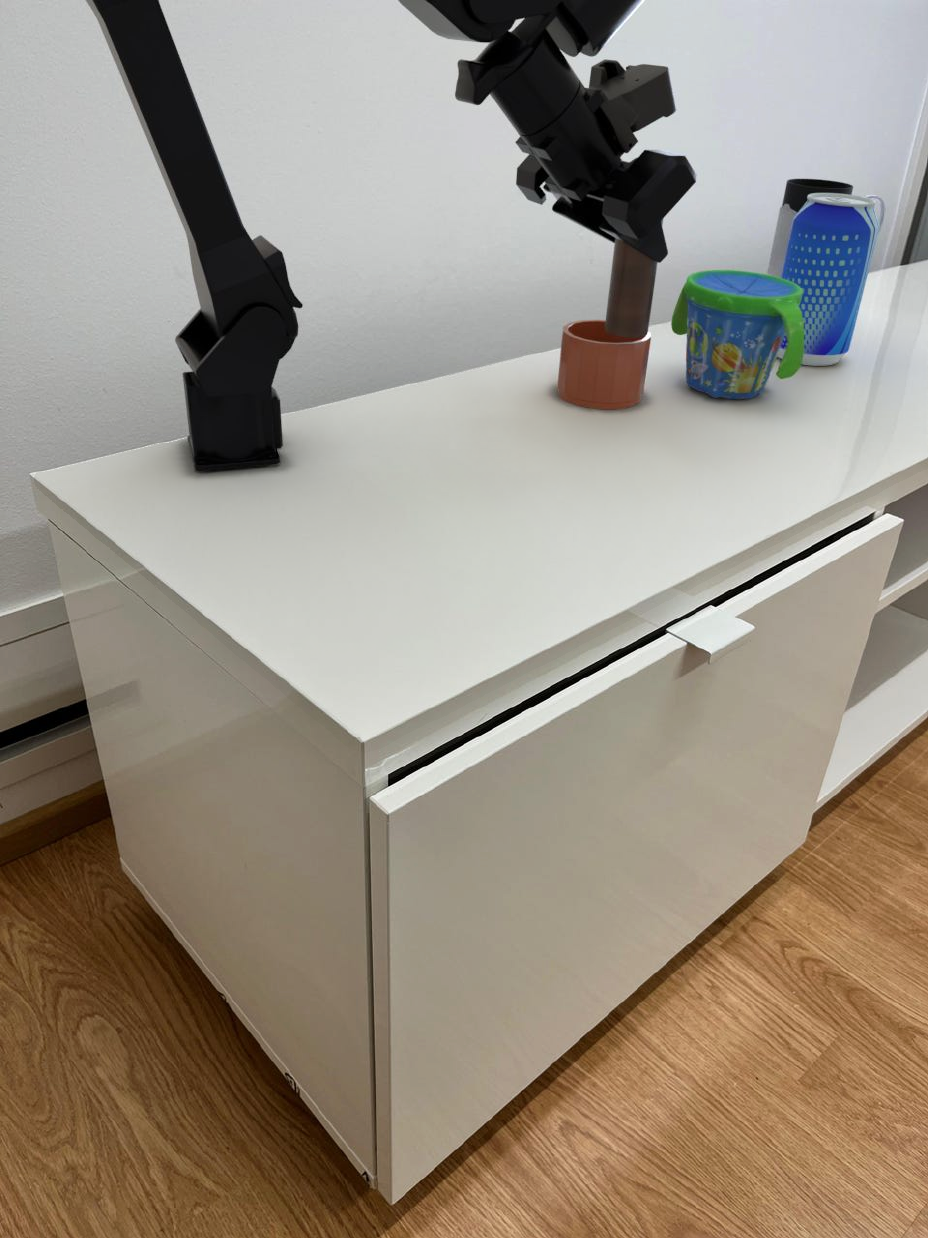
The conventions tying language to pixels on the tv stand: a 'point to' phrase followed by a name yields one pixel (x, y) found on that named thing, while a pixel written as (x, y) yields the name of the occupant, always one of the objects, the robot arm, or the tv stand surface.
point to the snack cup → (738, 330)
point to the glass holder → (792, 205)
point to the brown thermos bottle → (630, 292)
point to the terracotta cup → (601, 366)
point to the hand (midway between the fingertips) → (649, 253)
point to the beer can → (830, 270)
